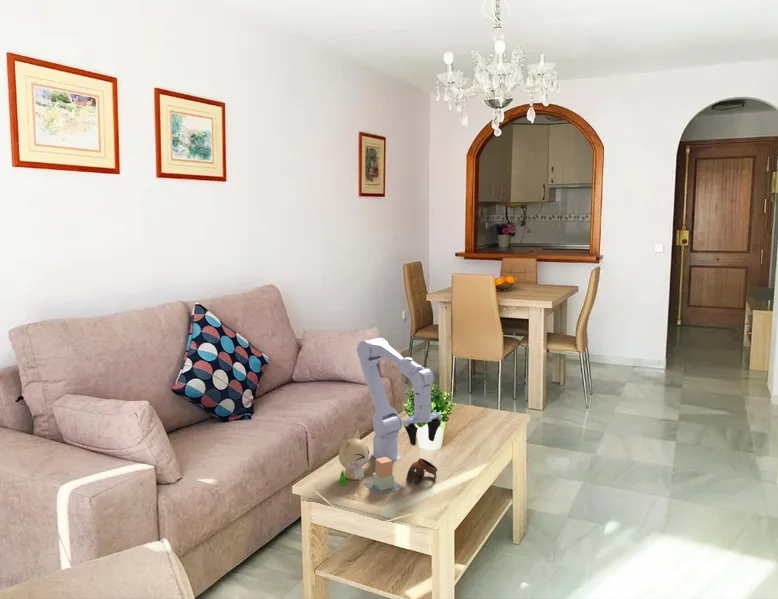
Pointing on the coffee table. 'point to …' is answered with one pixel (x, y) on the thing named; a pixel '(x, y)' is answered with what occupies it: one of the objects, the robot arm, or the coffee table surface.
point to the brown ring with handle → (420, 471)
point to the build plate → (380, 492)
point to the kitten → (353, 458)
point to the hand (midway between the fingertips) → (422, 442)
